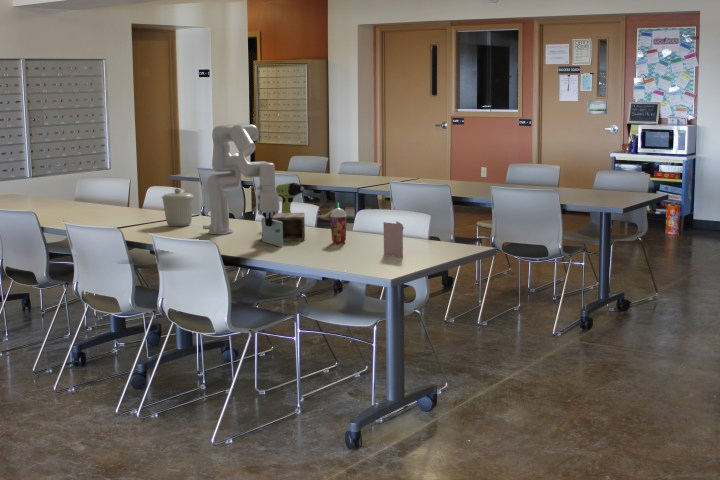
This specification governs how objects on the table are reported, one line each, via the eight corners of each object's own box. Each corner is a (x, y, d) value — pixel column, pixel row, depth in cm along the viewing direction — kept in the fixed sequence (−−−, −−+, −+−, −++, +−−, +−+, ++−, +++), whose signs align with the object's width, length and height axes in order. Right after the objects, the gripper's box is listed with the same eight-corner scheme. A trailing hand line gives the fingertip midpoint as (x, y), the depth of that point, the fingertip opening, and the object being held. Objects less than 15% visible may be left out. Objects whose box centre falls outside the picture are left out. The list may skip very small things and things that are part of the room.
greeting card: (404, 257, 426) (404, 224, 423) (388, 258, 424) (388, 225, 422) (398, 253, 437) (398, 220, 434) (382, 253, 435) (382, 221, 433)
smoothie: (349, 241, 469) (349, 201, 465) (344, 244, 461) (343, 204, 457) (334, 241, 471) (333, 201, 468) (328, 244, 464) (327, 203, 460)
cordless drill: (310, 230, 508) (309, 183, 504) (300, 231, 503) (299, 184, 499) (285, 225, 525) (284, 180, 521) (274, 226, 521) (273, 181, 517)
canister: (202, 224, 534) (200, 187, 530) (180, 228, 519) (178, 190, 515) (178, 222, 544) (176, 185, 540) (155, 226, 529) (154, 188, 525)
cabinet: (264, 241, 473) (263, 217, 471) (266, 236, 489) (265, 213, 487) (304, 240, 474) (304, 216, 472) (304, 235, 490) (304, 212, 488)
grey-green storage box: (258, 241, 472) (258, 217, 470) (264, 240, 474) (263, 217, 472) (278, 247, 455) (277, 222, 453) (283, 246, 456) (282, 222, 454)
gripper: (257, 190, 450) (259, 228, 453) (284, 187, 458) (286, 225, 461) (250, 189, 456) (251, 226, 459) (277, 186, 464) (278, 223, 467)
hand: (268, 226), depth 460 cm, fingers closed
